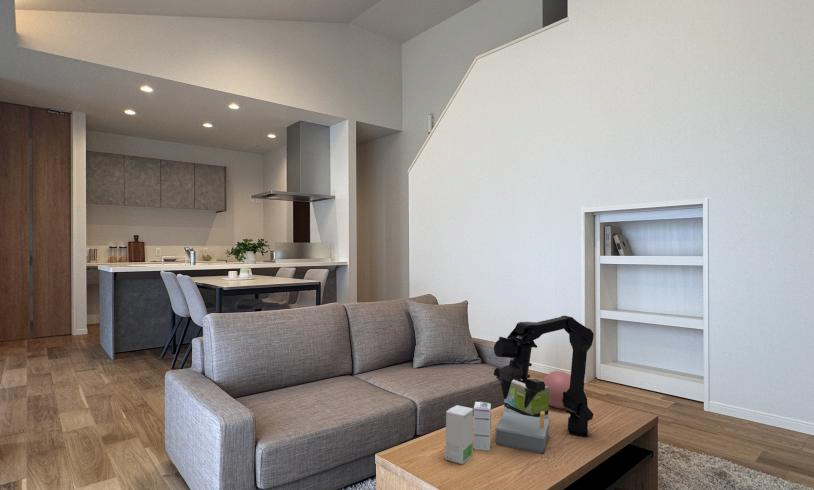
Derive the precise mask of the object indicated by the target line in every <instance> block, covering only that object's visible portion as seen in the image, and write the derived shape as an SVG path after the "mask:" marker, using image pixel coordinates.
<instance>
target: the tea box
mask: <svg viewBox="0 0 814 490" xmlns="http://www.w3.org/2000/svg"><path fill="white" fill-rule="evenodd" d="M521 380H522V379H521ZM524 388H526V386H525V384H524V383H522V382H519V381H516V380H513V381H512V382H511V385H510V389H509V393H508V396H507V399H504V398H503V399H504V400H503V401H504V402H503V406H504V407H503V413H504V412H509V413H515V414H521V415H526V416H532V417H538V418H540V413H541V411H544V412H545V419H549V412H550V411H549V409H550V407H549V406H550V404H549V387H548V386H545V390H543V391H541V392H538V393H537V394H536V395H535V397H534V398H533V399H532V401H531V402H530V404H529V405H528V407H527V408H524V402H525V395H526V392H525V389H524Z"/></svg>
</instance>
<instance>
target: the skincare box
mask: <svg viewBox="0 0 814 490" xmlns="http://www.w3.org/2000/svg"><path fill="white" fill-rule="evenodd" d="M445 413H446V414H445V446H444V447H445V449H444V450H445V453H444V455H445V456H444V457H445V458H444V459H445V460H446V461H450V462H453V463H456V464H459V465H464V463H466V462H468V460H469V459H470V458H471V457H472V456H473V427H474V407H467V406H463V405H458V404H456V405H455V406H453V407H450V408H449V409H448V410H446V411H445Z"/></svg>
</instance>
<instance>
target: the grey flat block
mask: <svg viewBox="0 0 814 490" xmlns="http://www.w3.org/2000/svg"><path fill="white" fill-rule="evenodd" d="M549 425H550V424H549ZM549 425H548V428H547V432H546V435H545V439H541V438H535V437H530V436H525V435H520V434H515V433H509V432H504V431H499V430H495V445H497V446H502V447H507V448H512V449H516V450H517V449H518V450H523V451H526V452H530V453H532V452H533V453H537V454H540V455H541V454H543V455H544V452H545V449H546V446H547V442H548V439H549V428H550V426H549Z"/></svg>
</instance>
